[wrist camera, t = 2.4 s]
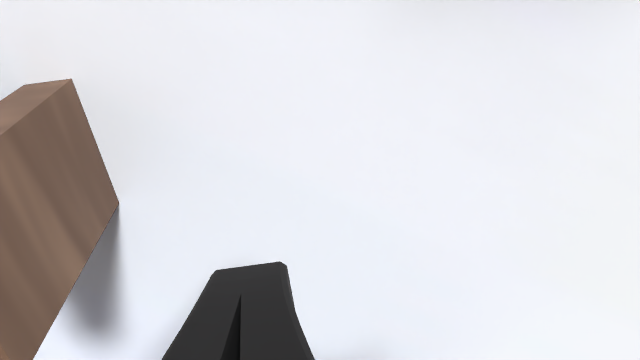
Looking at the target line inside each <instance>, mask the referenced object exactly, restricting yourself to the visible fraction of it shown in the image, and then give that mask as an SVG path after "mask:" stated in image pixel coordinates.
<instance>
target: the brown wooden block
mask: <svg viewBox="0 0 640 360" xmlns="http://www.w3.org/2000/svg"><path fill="white" fill-rule="evenodd" d="M118 204H119V201H118V199H117V196H116V194H115V191H114V188H113V186H112V183H111V181H110V178H109V175H108V173H107V170H106V167H105V165H104V162H103V160H102V157H101V154H100V152H99V149H98V147H97V144H96V141H95V139H94V136H93V133H92V131H91V128H90V126H89V123H88V120H87V118H86V115H85V113H84V110H83V107H82V105H81V102H80V99H79V97H78V94H77V92H76V89H75V86H74V84H73V81H72V79H66V80H58V81H51V82H43V83H35V84H28V85H23V86H22V87H20V88H19V89H17V90H16V91H14V92H13V93H11V94H10V95H8V96H7V97H5V98H4V99H2V100H1V101H0V360H33V358H34V356H35V355H36V353H37V351H38V349H39V347H40V346H41V344H42V342H43V340H44V338H45V336H46V335H47V333H48V331H49V329H50V327H51V326H52V324H53V322H54V320H55V318H56V317H57V315H58V313H59V311H60V309H61V307H62V306H63V304H64V302H65V300H66V298H67V297H68V295H69V293H70V291H71V289H72V288H73V286H74V284H75V282H76V280H77V278H78V277H79V275H80V273H81V271H82V269H83V268H84V266H85V264H86V262H87V260H88V258H89V257H90V255H91V253H92V251H93V249H94V248H95V246H96V244H97V242H98V240H99V239H100V237H101V235H102V233H103V231H104V229H105V228H106V226H107V224H108V222H109V220H110V219H111V217H112V215H113V213H114V211H115V209H116V208H117V206H118Z"/></svg>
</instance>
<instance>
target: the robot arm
mask: <svg viewBox="0 0 640 360" xmlns="http://www.w3.org/2000/svg"><path fill="white" fill-rule="evenodd" d="M162 360H315V359H314V357H313V355H312V353H311V350H310V348H309V345H308V343H307V340H306V338H305V336H304V333H303V331H302V328H301V326H300V323H299V320H298V318H297V315H296V312H295V307H294V302H293V296H292V291H291V286H290V280H289V275H288V270H287V266H286V265H285V264H283V263H282V262H273V263H266V264H258V265H251V266H243V267H236V268H229V269H221V270H216V271H215V272H214V273H213V274H212V275H211V277H210V279H209V281H208V283H207V284H206V286H205V288H204V290H203V292H202V293H201V295H200V297H199V299H198V301H197V302H196V304H195V306H194V308H193V309H192V311H191V313H190V314H189V316H188V318H187V319H186V321H185V323H184V324H183V326H182V328H181V330H180V331H179V333H178V334H177V336H176V337H175V339H174V341H173V342H172V344H171V345H170V347H169V349H168V350H167V352H166V353H165V355H164V356H163V358H162Z"/></svg>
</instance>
